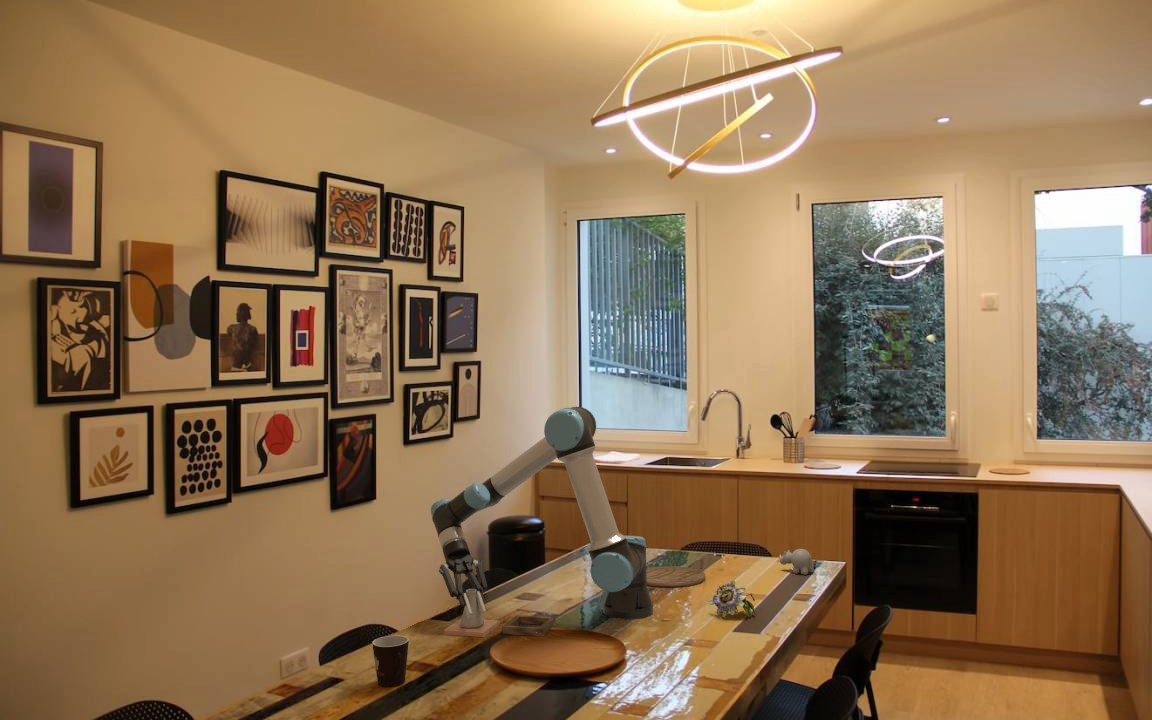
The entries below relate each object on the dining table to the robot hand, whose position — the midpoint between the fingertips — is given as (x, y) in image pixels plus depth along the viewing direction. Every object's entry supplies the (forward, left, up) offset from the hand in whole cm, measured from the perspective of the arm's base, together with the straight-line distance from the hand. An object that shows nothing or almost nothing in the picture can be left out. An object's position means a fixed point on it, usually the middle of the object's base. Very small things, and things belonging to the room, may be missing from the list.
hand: (476, 614), depth 249 cm
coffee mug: (+5, +42, -5) cm, 43 cm away
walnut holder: (-13, -7, -5) cm, 16 cm away
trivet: (-42, -72, -6) cm, 83 cm away
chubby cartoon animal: (-84, -90, -5) cm, 123 cm away
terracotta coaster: (+3, -3, -5) cm, 6 cm away
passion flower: (-68, -33, -5) cm, 76 cm away
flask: (+3, -3, -4) cm, 6 cm away
